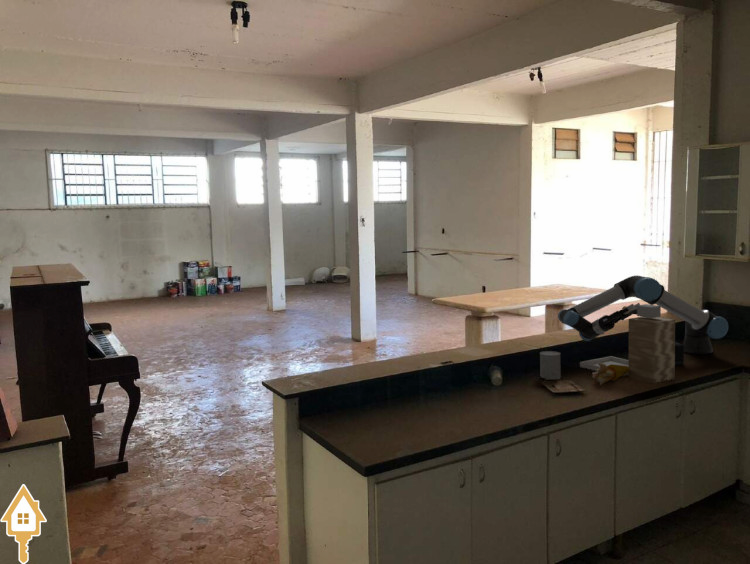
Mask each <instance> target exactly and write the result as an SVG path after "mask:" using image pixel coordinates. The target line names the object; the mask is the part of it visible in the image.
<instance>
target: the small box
mask: <svg viewBox="0 0 750 564" xmlns="http://www.w3.org/2000/svg"><path fill="white" fill-rule="evenodd" d="M682 344H683V343H679V342H677V341H675V366H684V364H685V363H684V361H685V359H684V358H685V352H684V345H682Z"/></svg>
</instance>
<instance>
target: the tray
mask: <svg viewBox="0 0 750 564" xmlns="http://www.w3.org/2000/svg"><path fill="white" fill-rule="evenodd" d="M601 362H602V363H604V364H605V365H606V366H609V365H611V364H613V365H622V366H628V367H629V359H625V358H621V357H617V356H612V355H610V356H604V357H600V358H594V359H589V360H584V361H580V362H579V367H580V368H582V369H586V368H587V370H590V369H591V370H590V371H594V370H595V371H594V372H597V370H596V369H598V368H600V366H599V364H598V363H601ZM623 377H629V372H628V373H627V374H625V375H623V376H620V377H619V378H623Z"/></svg>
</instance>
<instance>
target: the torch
mask: <svg viewBox="0 0 750 564" xmlns="http://www.w3.org/2000/svg"><path fill="white" fill-rule="evenodd" d="M598 364H599V366H600V368H598V369H596V370H597V371H594V372H592V373H591V374H592V378H593V379H595V380H596V382H599V385H603V384H606V383H607V382H608V381H612V382H615V381H616V380H617V379H619V378H621V377H620V376H623V375H625V374H627V373H628V372H629V367H628V366H622V365H613V364H611V365H609V366H606V365H605V364H604V363H602V362H601V363H598ZM623 377H624V376H623Z"/></svg>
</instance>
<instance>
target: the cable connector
mask: <svg viewBox="0 0 750 564" xmlns="http://www.w3.org/2000/svg"><path fill="white" fill-rule="evenodd" d="M626 307H627V306H626V305H625V306H623V307H622V308H621V310H622V309H624V308H626ZM661 309H662V307H661V306H658V305H656V304H654V305H650V304H648V303H647V304H646V303H645V304H640V305H637V309H634V310H633V311H631V312H629V313H627V314H633V315H636V316H637V317H647V318H656V317H661V314H662V313H661V312H662V310H661ZM661 318H662V317H661Z"/></svg>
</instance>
